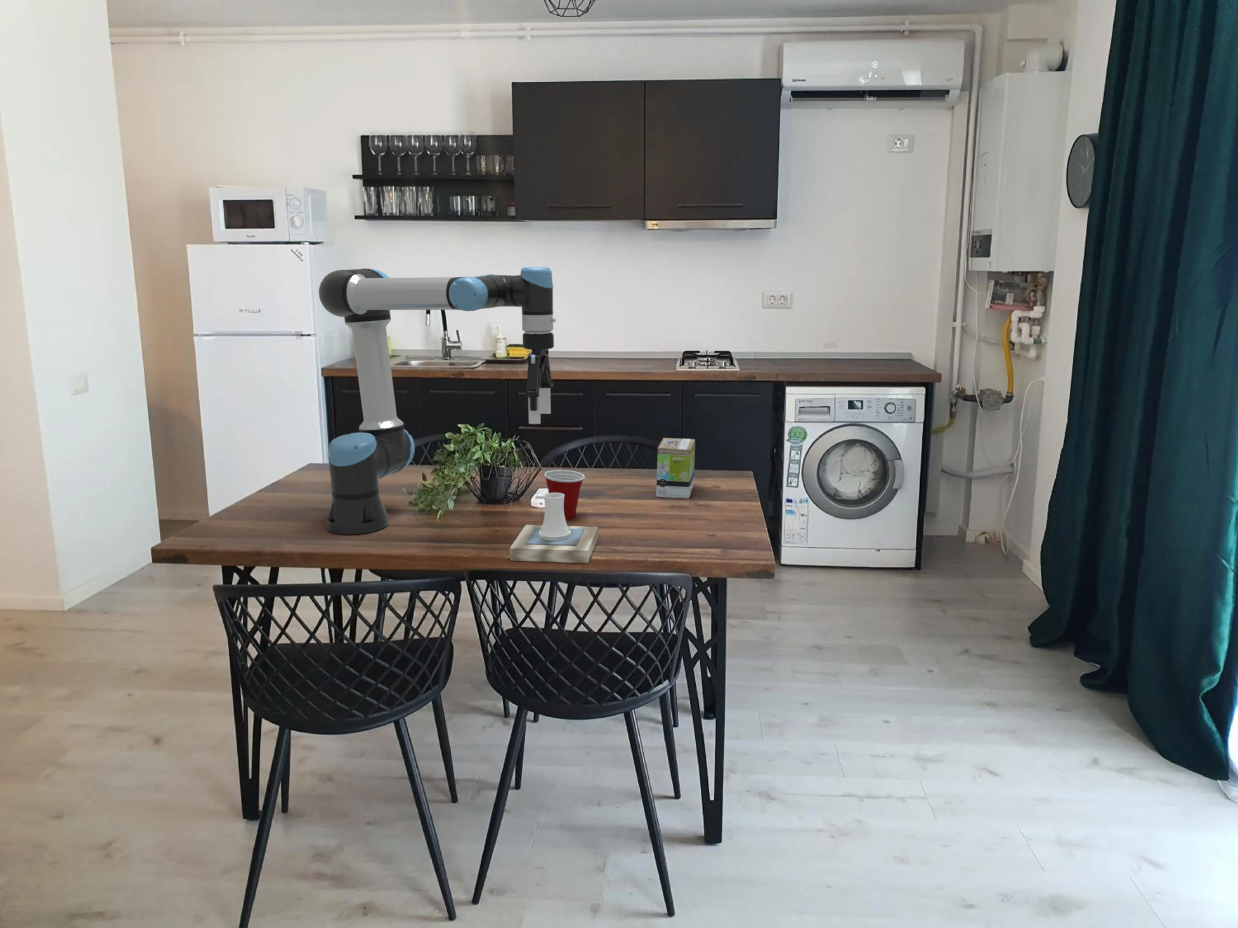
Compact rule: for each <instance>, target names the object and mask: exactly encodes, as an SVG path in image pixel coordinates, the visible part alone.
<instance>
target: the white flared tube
mask: <svg viewBox="0 0 1238 928" xmlns="http://www.w3.org/2000/svg"><path fill="white" fill-rule="evenodd" d="M543 498H544V516H543V517H544V518H543V522H542V524H541V525H542V528H541V530H540V531H539V537H540V538H541V539H544V540H553V541H555V540H564V539H567V538H569V537H570V536H571V534H570V533H571V531H570V530H569V529H568V526H569V525H568V523H567V520H565V516H564V494H562V493H549V492H548V493H545V494H544V495H543Z"/></svg>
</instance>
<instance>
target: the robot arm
mask: <svg viewBox="0 0 1238 928" xmlns="http://www.w3.org/2000/svg"><path fill="white" fill-rule="evenodd" d="M552 272H553V271H552V270H551V268H550V267H548V266H524V267H522V268H520V273H519V274H517V275H509V274H508V275H507V274H505V275H504V274H502V275H501V274H485V275H484V274H483V275H482V274H481V275H478V276H453V277H452V276H441V277H440V276H439V277H438V276H437V277H431V276H430V277H390V276H389V275H387V274H386V273H384V272H383V271H381V270H378V269H374V268H356V269H355V268H354V269H352V268H351V269H338V270H334V271H331V272H330V273H327V274H326V275H325V276H324V277H323V278H322V280H321V282H320V284H319V287H318V297H319V301H320V304H322V307H323V308H324V309H325V310H326V311H327V312H328V313H330V314H332V315H333V316H336V317H340V318H344V324H345V325H346V326H347V327H349V329H350V330H351V331H352V333H351V334H352V339H353V340H352V341H353V347H354V354H355V362H356V371H357V378H358V385H359V393H360V394H359V395H360V400H361V401H360V402H361V408H362V415H363V421H362V423H361V424H360V425H359V427H358V431H359V432H351V433H348V434H343V435H340V436H339V435H338V436H337V437H335V438H333V439H332V440H331V442H330V443H329V444H328V455H327V457H328V463H329V473H330V475H329V476H330V485H331V498H332V499H331V503H330V507H329V510H328V515H327V519H326V527H327V530H328V531H329V532H331V533H334V534H338V535H361V534H362V535H364V534H369V533H374V532H377V531H380V530H383V529H385V528H386V527H387V526H388V525H389V517H388V513H387V510H386V507H385V506H384V504H383V501H382V499H381V496H380V485H379V480H380V479H382V478H385V477H387V476H390V475H393V474H396V473H398V472H400V471H401V470H403V469H404V468H406V467H408V466H409V465H410V464H411V462H412V460H413V458H414V456H415V450H416V449H415V442H414V438H413V437H412V435H411V434H409V431H408V430H406V429H405V425H404V424H405V423H404V421H402V420H401V419H400V418H398V416H397V408H396V399H395V392H394V391H395V390H394V383H393V374H392V373H393V372H392V367H391V359H390V351H389V350H390V349H389V343H388V334H387V333H388V332H387V326H388V324H389V323H390V322H391V321H392V318H391V311H414V310H415V311H420V310H421V311H425V310H426V311H432V310H434V311H438V310H439V311H450V310H451V311H453V310H454V311H455V310H456V311H464V312H474V311H475V312H476V311H478V310H484V309H491V308H492V309H493V308H494V309H495V308H501V307H504V308H505V307H509V308H510V307H513V308H514V307H517V308H520V307H521V330H522V331H523V334H522V347H523V349H525V350H530V351H531V353H530V354H528V356H527V375H526V376H527V378H526V391H525V393H524V397H525V398H527V402H528V403H527V404H528V424H530V425H537V424H538V425H540V424H541V414H542V415H543V414H544V415H545V414H547V415H550V414H552V413H551V411H552V410H551V409H552V408H551V407H552V405H551V388H554V383H553V382H552V381H553V380H552V375H551V365H550V358H549V357H550V355H549V350H550V349H553V348H554V347H555V341H554V339H555V335H554V333H553V332H552V331H553V330H554V323H555V322H556V318H555V317H554V310H553V309H554V303H553V302H554V284H553V273H552Z"/></svg>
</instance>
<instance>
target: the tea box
mask: <svg viewBox="0 0 1238 928" xmlns="http://www.w3.org/2000/svg"><path fill="white" fill-rule="evenodd" d="M695 454H696V439H694V438H676V437H675V438H673V437H672V438H671V437H663V438H662V440H661V442H660V443H659V445H658V447H657V457H656V458H657V462H656V492H655V495H656V497H657V498H670V499H671V498H672V499H690V496H691V494H692V491H693V488H694V485H695V461H696V459H695V457H696V455H695Z"/></svg>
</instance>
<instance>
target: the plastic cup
mask: <svg viewBox="0 0 1238 928" xmlns="http://www.w3.org/2000/svg"><path fill="white" fill-rule="evenodd" d="M543 476H544V478H545V483H546V486H547V490H548V491H547V492H548V493H562V494H564V516H565V520H566V521H570V520H571V521H572V520H574V519H575V518H576V514H577V507H578V503H579V502H578V501H579V497H580V492H581V487H582V484H583V482H584V480H585V475H584V474H583V473H582V472H579V471H576V470H568V469H553V470H547V471H545V472H544V475H543Z"/></svg>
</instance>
